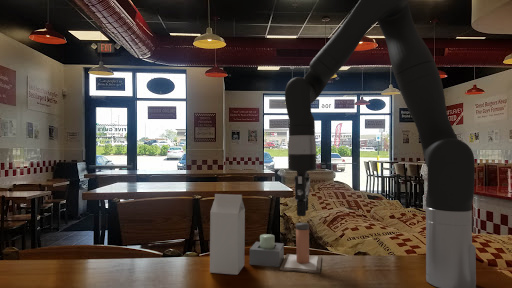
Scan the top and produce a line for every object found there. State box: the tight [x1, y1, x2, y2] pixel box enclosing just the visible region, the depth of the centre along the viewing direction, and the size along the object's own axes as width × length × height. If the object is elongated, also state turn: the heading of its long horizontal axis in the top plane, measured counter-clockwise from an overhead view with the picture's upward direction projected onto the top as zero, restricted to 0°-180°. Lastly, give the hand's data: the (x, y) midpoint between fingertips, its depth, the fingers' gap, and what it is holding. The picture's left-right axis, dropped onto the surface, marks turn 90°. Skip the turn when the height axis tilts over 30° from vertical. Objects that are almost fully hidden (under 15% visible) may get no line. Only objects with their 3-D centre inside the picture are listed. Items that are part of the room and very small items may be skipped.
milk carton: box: [209, 193, 246, 275], centre depth 88 cm, size 7×7×19 cm
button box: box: [248, 241, 285, 268], centre depth 95 cm, size 8×8×4 cm
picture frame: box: [279, 253, 323, 275], centre depth 92 cm, size 10×13×1 cm
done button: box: [259, 233, 276, 249], centre depth 95 cm, size 4×4×5 cm
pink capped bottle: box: [295, 222, 310, 264], centre depth 92 cm, size 4×4×10 cm
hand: (302, 213), depth 93 cm, fingers open, 8 cm apart
